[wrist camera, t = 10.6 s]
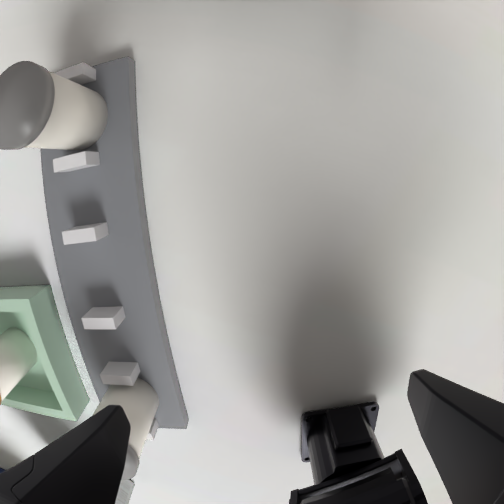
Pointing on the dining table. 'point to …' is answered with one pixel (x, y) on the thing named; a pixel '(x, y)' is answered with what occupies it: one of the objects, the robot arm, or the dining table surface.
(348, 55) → the dining table surface
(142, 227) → the block
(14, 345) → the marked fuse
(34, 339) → the tray
